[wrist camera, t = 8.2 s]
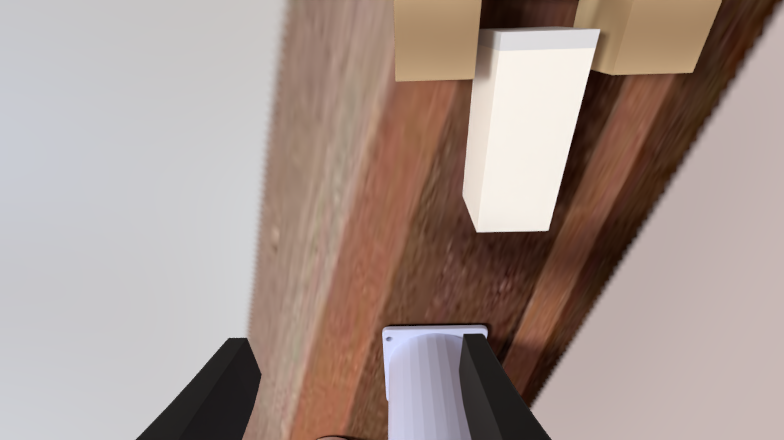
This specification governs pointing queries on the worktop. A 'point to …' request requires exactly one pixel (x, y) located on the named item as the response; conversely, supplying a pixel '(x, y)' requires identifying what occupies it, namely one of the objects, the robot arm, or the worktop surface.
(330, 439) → the supplement bottle
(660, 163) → the worktop surface
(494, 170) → the white block
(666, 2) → the tan bridge
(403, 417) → the robot arm
